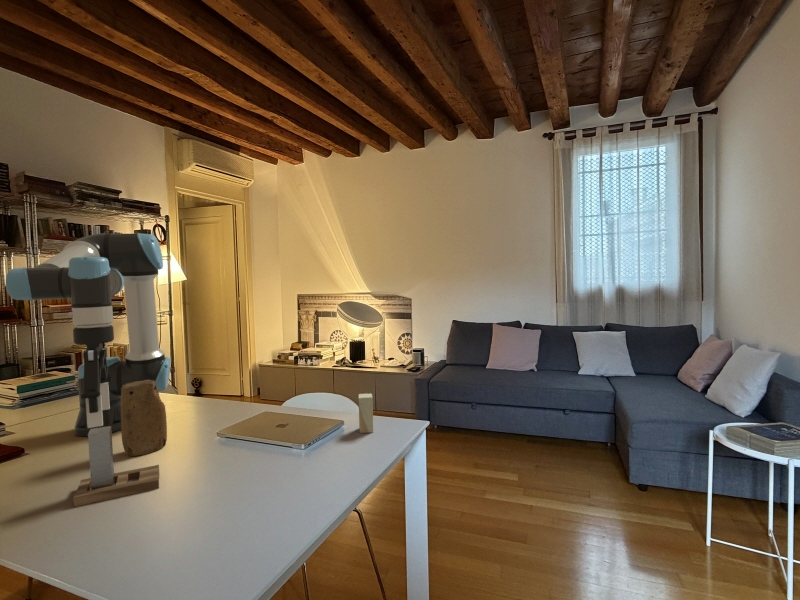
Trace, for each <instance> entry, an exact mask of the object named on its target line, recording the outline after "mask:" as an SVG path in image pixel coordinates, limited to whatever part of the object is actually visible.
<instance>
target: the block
mask: <svg viewBox="0 0 800 600" xmlns="http://www.w3.org/2000/svg"><path fill="white" fill-rule="evenodd" d="M166 411H167V410H166V405H165V403H164V402H163V401H162V400H161V397H160V392H158V389H157V385H156V382H155V381H153V380H144V381H136V382H132V383H127V384H124V385H123V386H122V388H121V430H120V431H121V441H122V447H123V450H124V453H125V454H126V455H127V456H129V457H131V456H137V457H138V456H143V455H148V454H150V453H152V452H156V451H158V450H162V449H163V448H164V447H165V446H166V444H167V441H168V425H167V412H166Z"/></svg>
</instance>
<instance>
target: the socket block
mask: <svg viewBox="0 0 800 600" xmlns="http://www.w3.org/2000/svg"><path fill="white" fill-rule="evenodd" d="M114 482H115V485H113V486H109V487H104V488H99V489H94V490H91V477H89V478H83V479H81V480H80V482H79V484H78V486H77V489H76V491H75V493H74V496H73V506H74V507H73V508H75V507H79V506H83V505H89V504H92V503H97V502H101V501H106V500H110V499H115V498H120V497H124V496H130V495H134V494H138V493H142V492H148V491H152V490H157V489H159V488H160V465H159V464H156V465H150V466H145V467H139V468H135V469H131V470H129V469H128V470H124V471H120V472H114Z"/></svg>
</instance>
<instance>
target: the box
mask: <svg viewBox="0 0 800 600" xmlns="http://www.w3.org/2000/svg"><path fill="white" fill-rule="evenodd" d="M373 405H374V403H373V394H372V393H359V394H358V419H359V420H358V421H359V423H358V424H359V434H367V433H374V416H373V415H374V410H373V409H374V408H373Z"/></svg>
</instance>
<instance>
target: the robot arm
mask: <svg viewBox="0 0 800 600" xmlns="http://www.w3.org/2000/svg"><path fill="white" fill-rule="evenodd" d="M163 262H164V261H163V254H162V249H161V246H160V243H159V241H158V239H157V237H156V236H155V235H154V234H149V233H141V232H138V233H107V232H103V233H102V232H101V233H94V234H89V235H87V236H83V237H79V238H76V239H75V240H72V241H71V242H69V243H67V244H66V245H65V246H64V247H63V249H62V251H60V252H58V253H57V254H56V255H53V256H52V257H50V258H47V259H46V260H45V261H43V262H41V263H39V264H37V265H36V266H34V267H26V266H23V267H20V268H19V267H18V268H17V267H16V268H15V267H14V268H11V269H10V270H8V272H7V274H6V276H5V289H6V292H7V293H8V295H9V296H10V298H12V299H13V300H16V301H38V300H40V301H41V300H63V299H64V300H65V299H67V300H68V299H70V302H71V303H70V305H71V311H69V312H68V316H69V317H72V325H73V326H76V327H74V328H73V329H72V336H73V343H74V344H75V345H77V346H84V345H85V346H86V350H84V351H83V353H82V355H83V357H82V358H83V363H82V364H80V365H79V366H78V368H77V379H76V380H77V385H78V398H79V400H78V401H79V411H78V415H77V418H76V421H75V423H74V435H75V436H79V437H88V433H89V431H90V429H94V428H101V427H107V426H111V431H112V433H114V432H118V431H122V430H121V388H122V386H123V385H124V384H127V383H132V382H136V381H144V380H153V381H155V382H156V385H157V389H158V392H159V393H160V392H164V391H165V390H167V387H168V385H169V380H170V374H171V358H170V357H168V356H165V354H166V353H165V351H164V350H163V349H162V348H160V345H159V343H160V342H159V331H158V320H157V319H158V318H157V307H156V296H155V295H156V293H155V282H154V281H155V279H156V277H157V276H158V275H159V271H160V270H162V269H163V267H164V263H163ZM122 290H124V291H123V292H124V300H125V310H126V321H127V331H128V333H127V334H128V335H127V336H128V345H129V346H128V347H129V352H128V353H126V355H125V356H124V360H121V358H120V357H119V356H111V357H107V352H108V351H107V349H106V343H107V344H108V343H111V342H113V341H114V340H115V333H114V332H115V331H114V326H113V325H112V323H113V322H114V313H113V304H112V297H115V296H116V295H117V294H119V293H120V292H121V291H122Z"/></svg>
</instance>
